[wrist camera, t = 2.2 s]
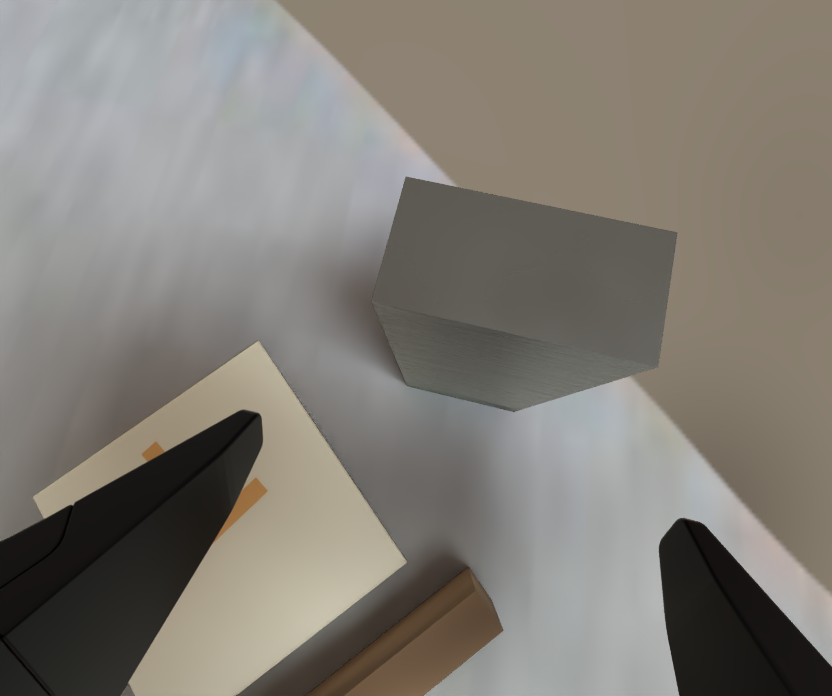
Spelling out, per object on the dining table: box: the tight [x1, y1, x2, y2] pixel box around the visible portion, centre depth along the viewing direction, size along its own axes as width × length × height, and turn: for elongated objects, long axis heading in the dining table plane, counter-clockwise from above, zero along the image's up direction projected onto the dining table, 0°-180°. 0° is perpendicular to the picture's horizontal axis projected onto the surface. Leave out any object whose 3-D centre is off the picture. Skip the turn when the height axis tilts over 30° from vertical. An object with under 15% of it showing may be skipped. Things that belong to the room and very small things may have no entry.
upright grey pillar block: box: [371, 177, 677, 412], centre depth 15 cm, size 5×6×13 cm
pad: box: [33, 341, 407, 696], centre depth 19 cm, size 12×12×1 cm
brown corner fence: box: [306, 567, 503, 696], centre depth 18 cm, size 14×18×3 cm
